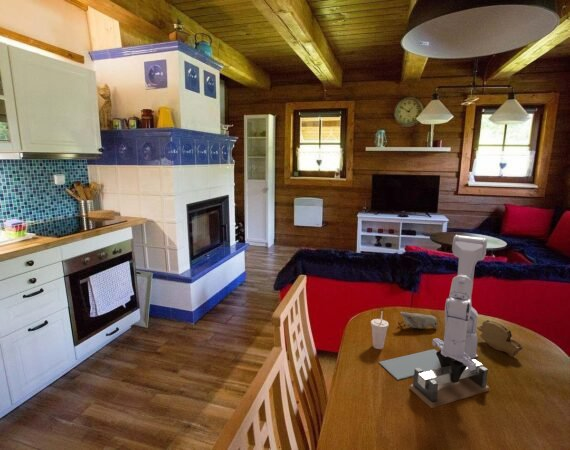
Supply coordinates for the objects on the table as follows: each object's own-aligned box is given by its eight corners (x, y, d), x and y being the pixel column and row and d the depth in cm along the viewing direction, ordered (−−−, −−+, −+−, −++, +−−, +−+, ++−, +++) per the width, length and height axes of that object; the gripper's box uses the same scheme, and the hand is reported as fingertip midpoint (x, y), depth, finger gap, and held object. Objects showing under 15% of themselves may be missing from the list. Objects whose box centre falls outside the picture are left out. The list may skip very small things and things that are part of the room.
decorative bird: (439, 332, 141) (441, 315, 139) (400, 332, 141) (401, 314, 139) (434, 325, 146) (435, 309, 145) (396, 325, 146) (397, 309, 144)
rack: (464, 373, 114) (466, 354, 112) (488, 390, 105) (491, 370, 104) (409, 388, 106) (411, 367, 105) (431, 408, 98) (433, 386, 97)
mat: (434, 350, 127) (434, 349, 127) (455, 365, 118) (455, 364, 118) (378, 362, 119) (378, 361, 119) (397, 380, 110) (397, 379, 110)
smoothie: (387, 352, 126) (390, 316, 123) (369, 350, 127) (371, 314, 124) (386, 342, 132) (388, 308, 129) (369, 341, 133) (371, 307, 130)
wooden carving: (523, 358, 122) (527, 332, 120) (515, 361, 120) (519, 335, 118) (480, 336, 137) (483, 313, 135) (472, 339, 135) (475, 315, 133)
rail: (473, 367, 110) (474, 359, 110) (481, 373, 107) (482, 364, 107) (417, 382, 103) (418, 373, 102) (424, 389, 100) (425, 379, 99)
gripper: (426, 327, 108) (422, 367, 110) (464, 352, 94) (459, 396, 97) (444, 324, 110) (440, 362, 113) (483, 347, 97) (478, 390, 99)
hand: (450, 378), depth 105 cm, fingers closed on rail, 3 cm apart
